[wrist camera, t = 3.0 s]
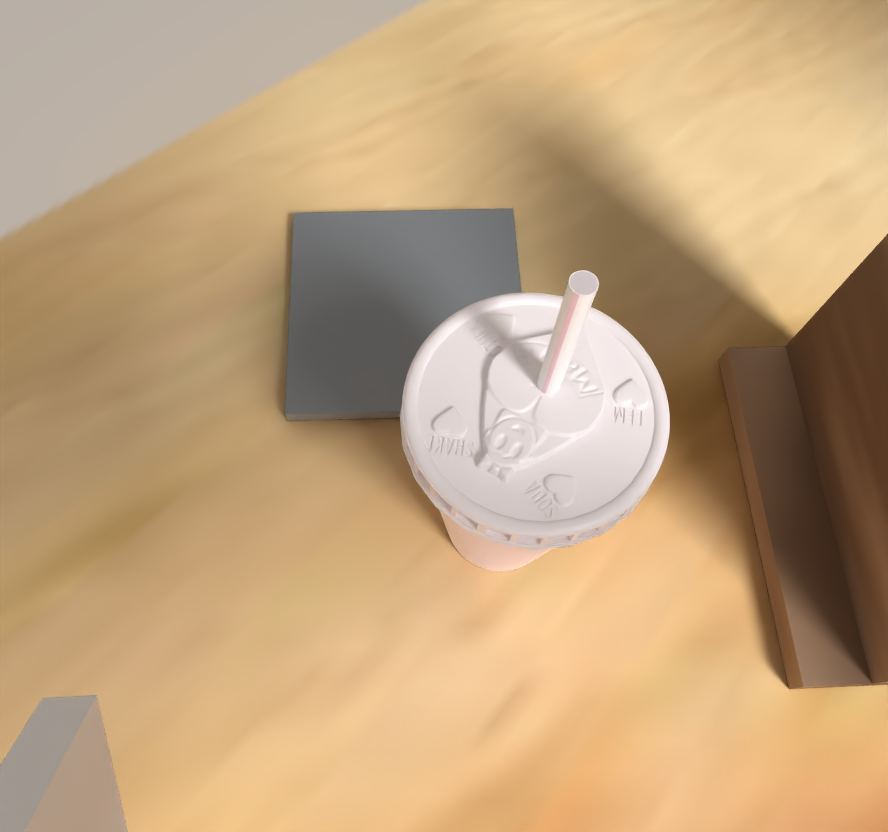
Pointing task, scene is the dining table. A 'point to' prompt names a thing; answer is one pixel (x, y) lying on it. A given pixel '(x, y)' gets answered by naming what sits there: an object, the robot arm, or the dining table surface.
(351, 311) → the coaster
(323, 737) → the dining table surface
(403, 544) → the dining table surface
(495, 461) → the smoothie
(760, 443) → the screen
